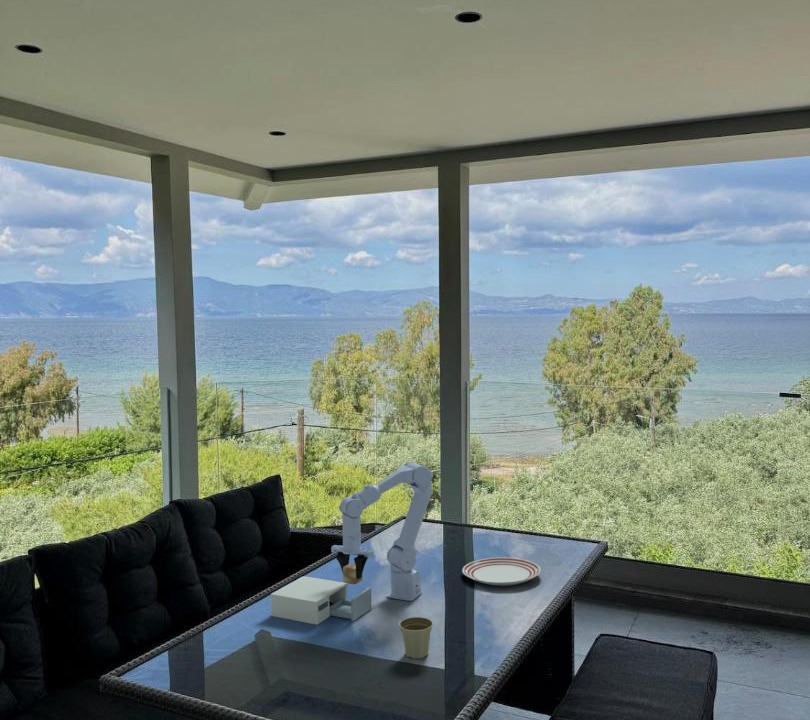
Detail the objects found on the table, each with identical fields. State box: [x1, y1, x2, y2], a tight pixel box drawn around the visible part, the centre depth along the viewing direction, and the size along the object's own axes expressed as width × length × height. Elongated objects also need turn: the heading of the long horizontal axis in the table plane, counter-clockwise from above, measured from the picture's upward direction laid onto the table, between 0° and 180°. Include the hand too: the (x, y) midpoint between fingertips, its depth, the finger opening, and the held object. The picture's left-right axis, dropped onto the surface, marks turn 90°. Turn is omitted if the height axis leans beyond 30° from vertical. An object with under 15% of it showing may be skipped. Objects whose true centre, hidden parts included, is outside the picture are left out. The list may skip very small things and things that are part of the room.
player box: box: [270, 575, 349, 626], centre depth 245 cm, size 17×18×7 cm
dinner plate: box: [461, 557, 542, 587], centre depth 272 cm, size 27×27×3 cm
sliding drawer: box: [329, 587, 372, 622], centre depth 242 cm, size 10×11×7 cm
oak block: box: [342, 562, 363, 585], centre depth 248 cm, size 4×4×5 cm
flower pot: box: [398, 616, 434, 660], centre depth 211 cm, size 9×9×9 cm
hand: (352, 576), depth 248 cm, fingers closed on oak block, 4 cm apart
